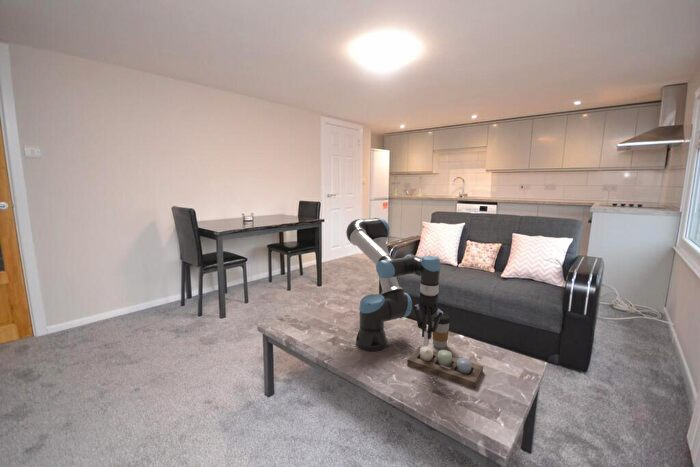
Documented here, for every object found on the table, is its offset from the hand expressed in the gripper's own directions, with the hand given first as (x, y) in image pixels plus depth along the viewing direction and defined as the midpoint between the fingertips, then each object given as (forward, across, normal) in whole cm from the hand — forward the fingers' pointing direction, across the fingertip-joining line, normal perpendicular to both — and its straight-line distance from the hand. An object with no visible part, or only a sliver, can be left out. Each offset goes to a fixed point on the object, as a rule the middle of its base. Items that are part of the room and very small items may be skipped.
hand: (426, 344), depth 139 cm
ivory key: (+6, 0, 0) cm, 6 cm away
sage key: (+5, +8, 0) cm, 10 cm away
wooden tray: (+8, +8, 0) cm, 12 cm away
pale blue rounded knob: (+6, +16, 0) cm, 17 cm away
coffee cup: (+8, 0, +17) cm, 19 cm away
